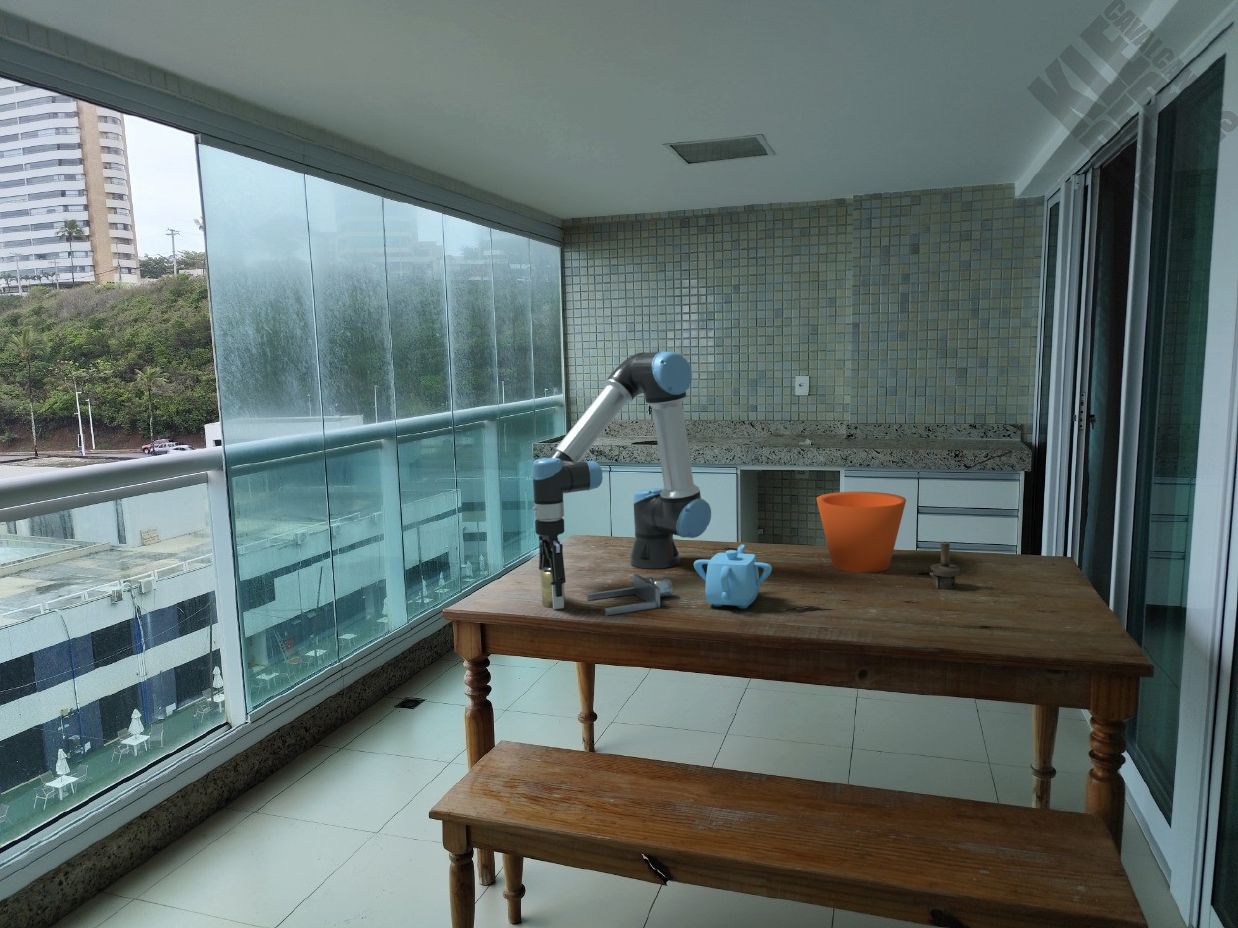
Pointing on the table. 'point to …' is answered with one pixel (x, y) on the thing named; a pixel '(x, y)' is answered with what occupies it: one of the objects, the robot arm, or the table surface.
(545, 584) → the yellow jar
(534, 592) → the table surface
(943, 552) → the industrial component
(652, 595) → the flange cradle
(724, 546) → the table surface
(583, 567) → the table surface
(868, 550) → the flowerpot
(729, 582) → the light blue boxy pot
